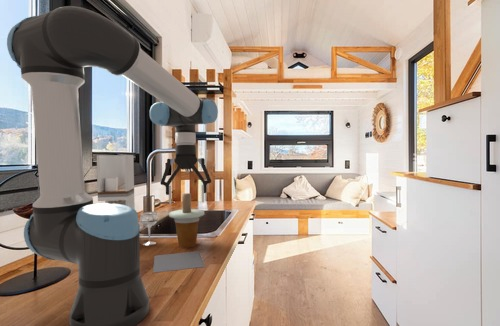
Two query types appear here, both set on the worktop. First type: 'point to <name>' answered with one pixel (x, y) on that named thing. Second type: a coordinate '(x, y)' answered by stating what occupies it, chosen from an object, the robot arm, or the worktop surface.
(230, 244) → the worktop surface
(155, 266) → the mat
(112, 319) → the robot arm
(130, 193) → the grey box-shaped tower
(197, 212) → the lid
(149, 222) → the wineglass
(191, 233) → the disposable coffee cup
